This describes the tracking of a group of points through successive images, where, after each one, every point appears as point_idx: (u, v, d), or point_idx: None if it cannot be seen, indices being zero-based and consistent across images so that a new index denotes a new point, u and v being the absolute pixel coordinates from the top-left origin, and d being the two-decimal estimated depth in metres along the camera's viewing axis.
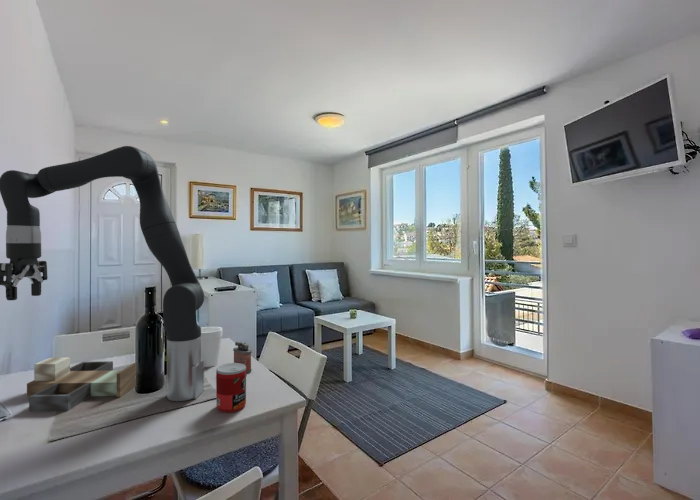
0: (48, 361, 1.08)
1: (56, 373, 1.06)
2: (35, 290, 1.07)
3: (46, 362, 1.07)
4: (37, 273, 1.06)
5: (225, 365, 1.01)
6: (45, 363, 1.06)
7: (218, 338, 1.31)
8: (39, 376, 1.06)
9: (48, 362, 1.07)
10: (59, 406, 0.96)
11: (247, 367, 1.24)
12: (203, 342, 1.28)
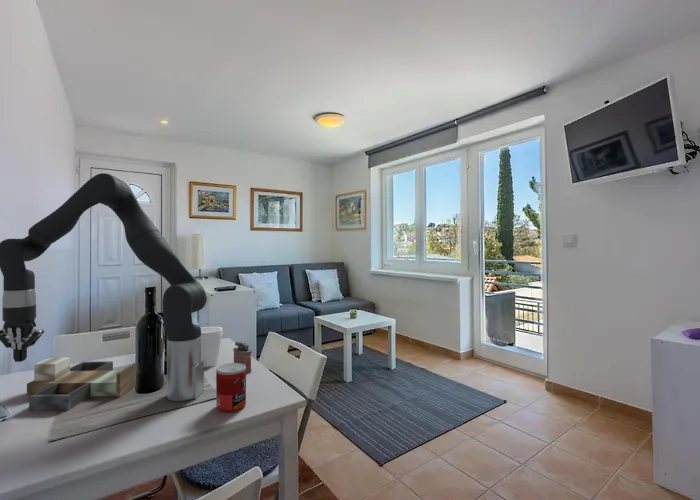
0: (48, 361, 1.08)
1: (56, 373, 1.06)
2: None
3: (46, 362, 1.07)
4: None
5: (225, 365, 1.01)
6: (45, 363, 1.06)
7: (218, 338, 1.31)
8: (39, 376, 1.06)
9: (48, 362, 1.07)
10: (59, 406, 0.96)
11: (247, 367, 1.24)
12: (203, 342, 1.28)
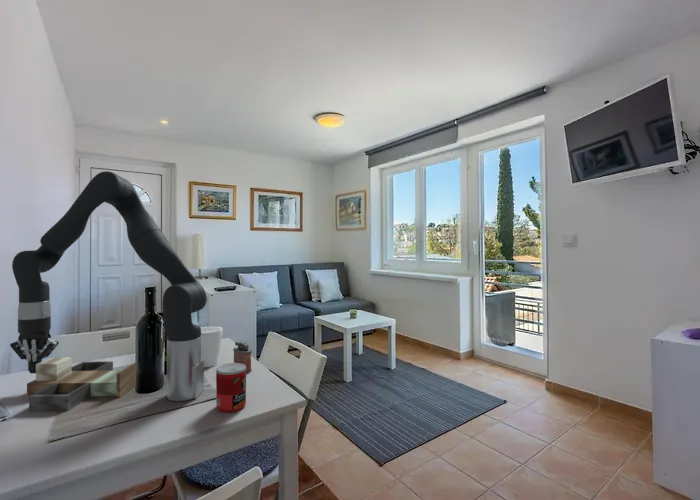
0: (50, 361, 1.08)
1: (57, 373, 1.06)
2: None
3: (48, 362, 1.07)
4: None
5: (225, 365, 1.01)
6: (47, 363, 1.06)
7: (218, 338, 1.31)
8: (41, 376, 1.06)
9: (50, 362, 1.07)
10: (59, 406, 0.96)
11: (247, 367, 1.24)
12: (203, 342, 1.28)
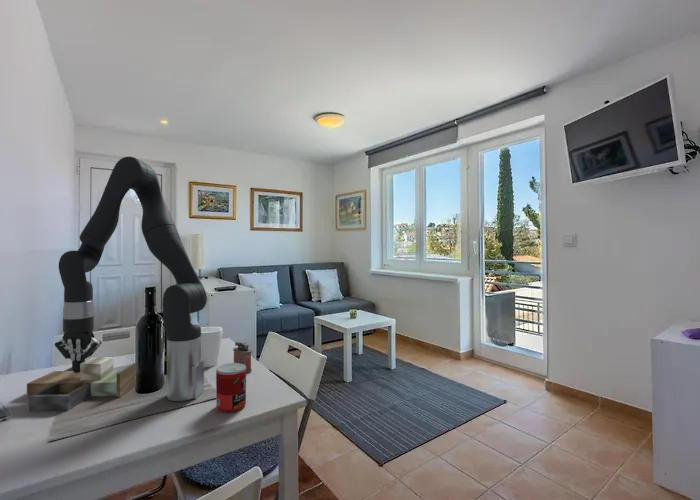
0: (93, 361, 1.09)
1: (101, 372, 1.07)
2: None
3: (91, 362, 1.08)
4: None
5: (225, 365, 1.01)
6: (91, 363, 1.07)
7: (218, 338, 1.31)
8: (85, 376, 1.06)
9: (93, 362, 1.08)
10: (59, 406, 0.96)
11: (247, 367, 1.24)
12: (203, 342, 1.28)
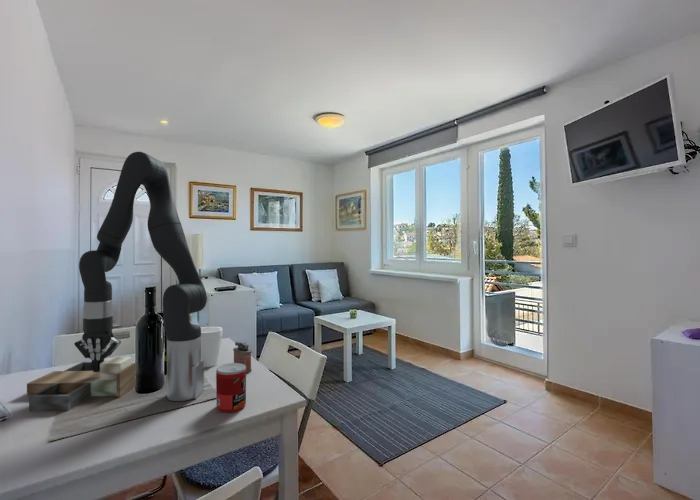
0: (112, 360, 1.09)
1: None
2: None
3: (111, 361, 1.08)
4: None
5: (225, 365, 1.01)
6: (110, 362, 1.07)
7: (218, 338, 1.31)
8: (105, 376, 1.07)
9: (113, 361, 1.08)
10: (59, 406, 0.96)
11: (247, 367, 1.24)
12: (203, 342, 1.28)
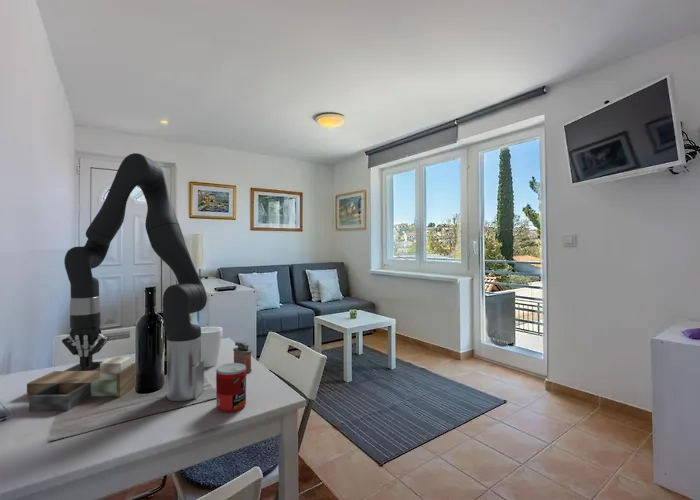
0: (112, 360, 1.09)
1: None
2: None
3: (111, 361, 1.08)
4: None
5: (225, 365, 1.01)
6: (110, 362, 1.07)
7: (218, 338, 1.31)
8: (105, 376, 1.07)
9: (113, 361, 1.08)
10: (59, 406, 0.96)
11: (247, 367, 1.24)
12: (203, 342, 1.28)
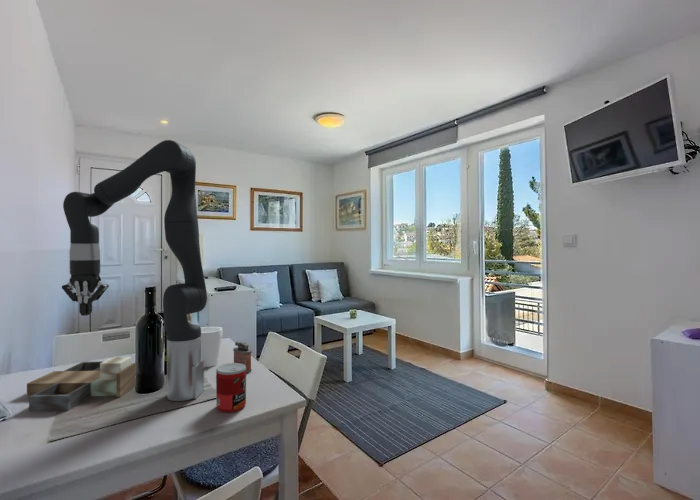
0: (112, 360, 1.09)
1: None
2: None
3: (111, 361, 1.08)
4: None
5: (225, 365, 1.01)
6: (110, 362, 1.07)
7: (218, 338, 1.31)
8: (105, 376, 1.07)
9: (113, 361, 1.08)
10: (59, 406, 0.96)
11: (247, 367, 1.24)
12: (203, 342, 1.28)
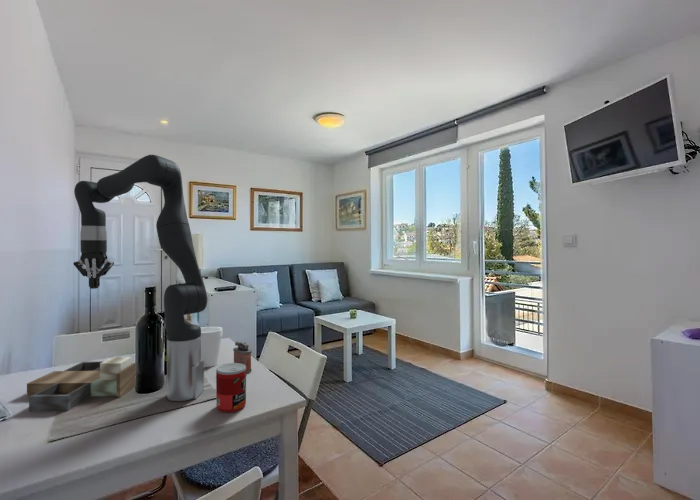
0: (112, 360, 1.09)
1: None
2: None
3: (111, 361, 1.08)
4: None
5: (225, 365, 1.01)
6: (110, 362, 1.07)
7: (218, 338, 1.31)
8: (105, 376, 1.07)
9: (113, 361, 1.08)
10: (59, 406, 0.96)
11: (247, 367, 1.24)
12: (203, 342, 1.28)
